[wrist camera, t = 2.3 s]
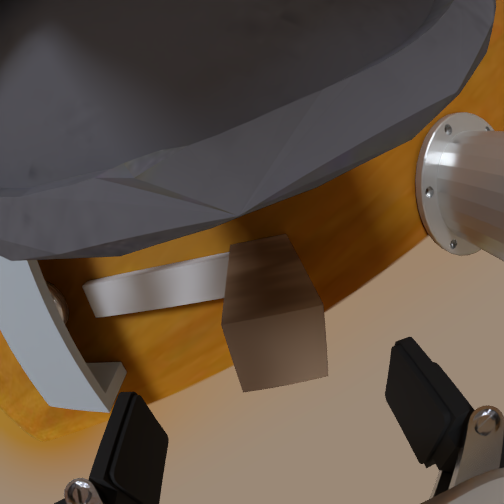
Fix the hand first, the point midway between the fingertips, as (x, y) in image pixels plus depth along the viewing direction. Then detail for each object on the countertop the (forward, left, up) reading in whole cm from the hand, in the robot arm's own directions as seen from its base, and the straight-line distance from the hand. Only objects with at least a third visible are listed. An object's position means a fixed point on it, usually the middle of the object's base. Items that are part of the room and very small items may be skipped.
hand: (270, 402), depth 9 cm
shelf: (+18, -1, -13) cm, 22 cm away
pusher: (+6, 0, -12) cm, 14 cm away
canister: (0, -13, -13) cm, 18 cm away
